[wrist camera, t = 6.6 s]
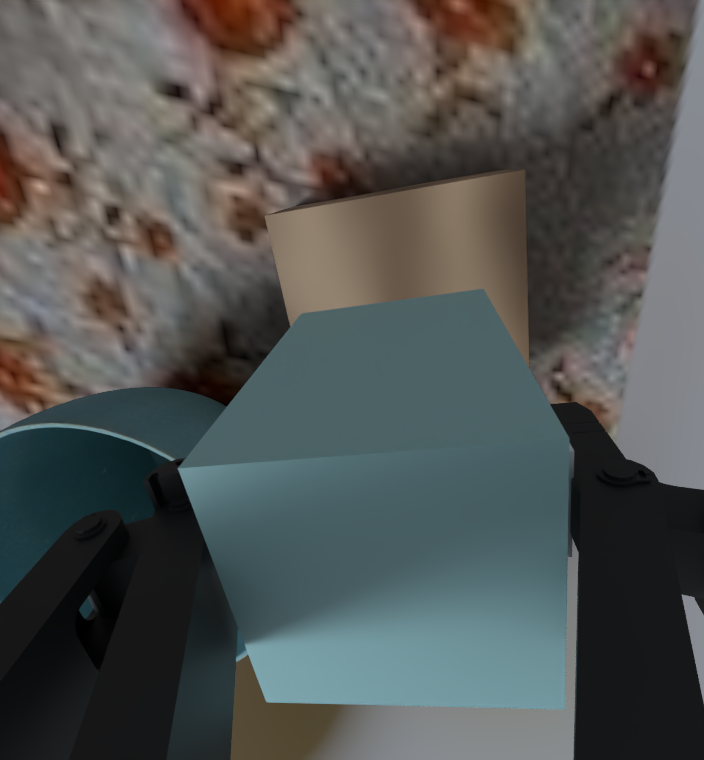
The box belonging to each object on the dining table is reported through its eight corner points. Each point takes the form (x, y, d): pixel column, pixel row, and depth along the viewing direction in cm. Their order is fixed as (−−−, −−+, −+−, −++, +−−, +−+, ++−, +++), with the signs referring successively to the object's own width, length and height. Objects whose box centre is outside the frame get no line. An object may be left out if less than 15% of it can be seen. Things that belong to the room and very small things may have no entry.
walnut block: (331, 386, 32) (314, 430, 27) (293, 206, 28) (264, 215, 22) (509, 368, 30) (530, 411, 25) (501, 169, 25) (525, 169, 20)
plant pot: (276, 566, 40) (223, 717, 29) (78, 487, 39) (-55, 612, 28) (355, 398, 33) (324, 517, 21) (110, 295, 32) (-55, 363, 20)
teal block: (333, 461, 18) (266, 702, 10) (301, 313, 16) (177, 468, 8) (493, 449, 17) (565, 708, 9) (483, 288, 15) (569, 438, 6)
